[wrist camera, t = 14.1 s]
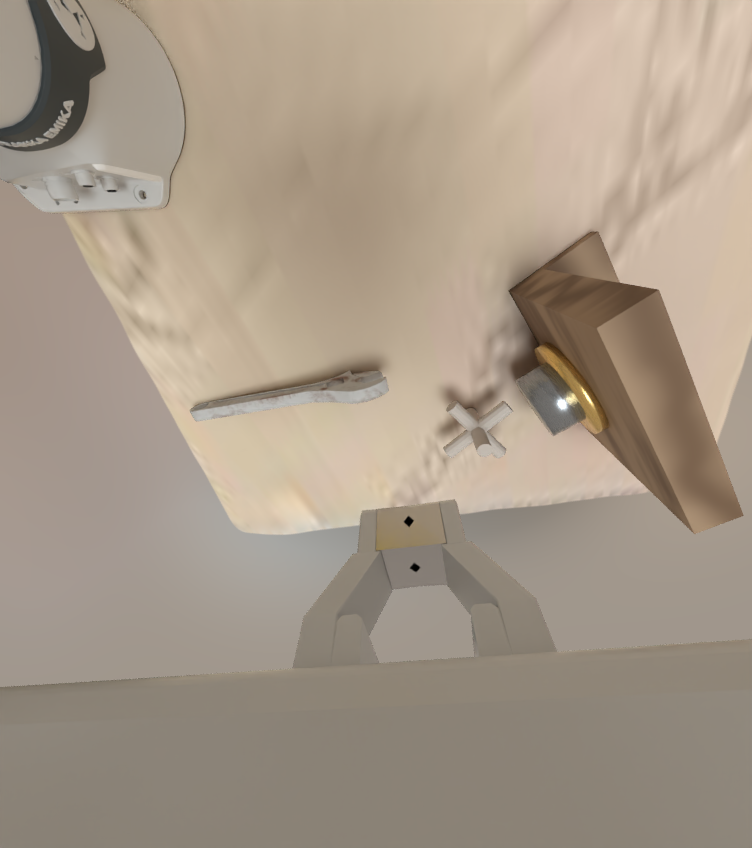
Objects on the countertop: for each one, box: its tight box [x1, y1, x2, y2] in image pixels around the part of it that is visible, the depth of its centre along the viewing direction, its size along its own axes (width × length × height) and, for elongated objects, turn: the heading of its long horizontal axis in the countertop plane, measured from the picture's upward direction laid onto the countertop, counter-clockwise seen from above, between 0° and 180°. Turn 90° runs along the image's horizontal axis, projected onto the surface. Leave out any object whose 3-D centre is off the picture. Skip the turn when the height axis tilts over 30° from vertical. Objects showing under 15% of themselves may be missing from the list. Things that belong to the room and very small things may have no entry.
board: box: [509, 232, 743, 534], centre depth 34 cm, size 10×24×20 cm, turn 38°
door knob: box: [515, 342, 609, 436], centre depth 40 cm, size 5×12×12 cm, turn 38°
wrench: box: [190, 371, 389, 421], centre depth 46 cm, size 8×2×30 cm
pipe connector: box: [444, 401, 513, 458], centre depth 44 cm, size 10×10×10 cm
